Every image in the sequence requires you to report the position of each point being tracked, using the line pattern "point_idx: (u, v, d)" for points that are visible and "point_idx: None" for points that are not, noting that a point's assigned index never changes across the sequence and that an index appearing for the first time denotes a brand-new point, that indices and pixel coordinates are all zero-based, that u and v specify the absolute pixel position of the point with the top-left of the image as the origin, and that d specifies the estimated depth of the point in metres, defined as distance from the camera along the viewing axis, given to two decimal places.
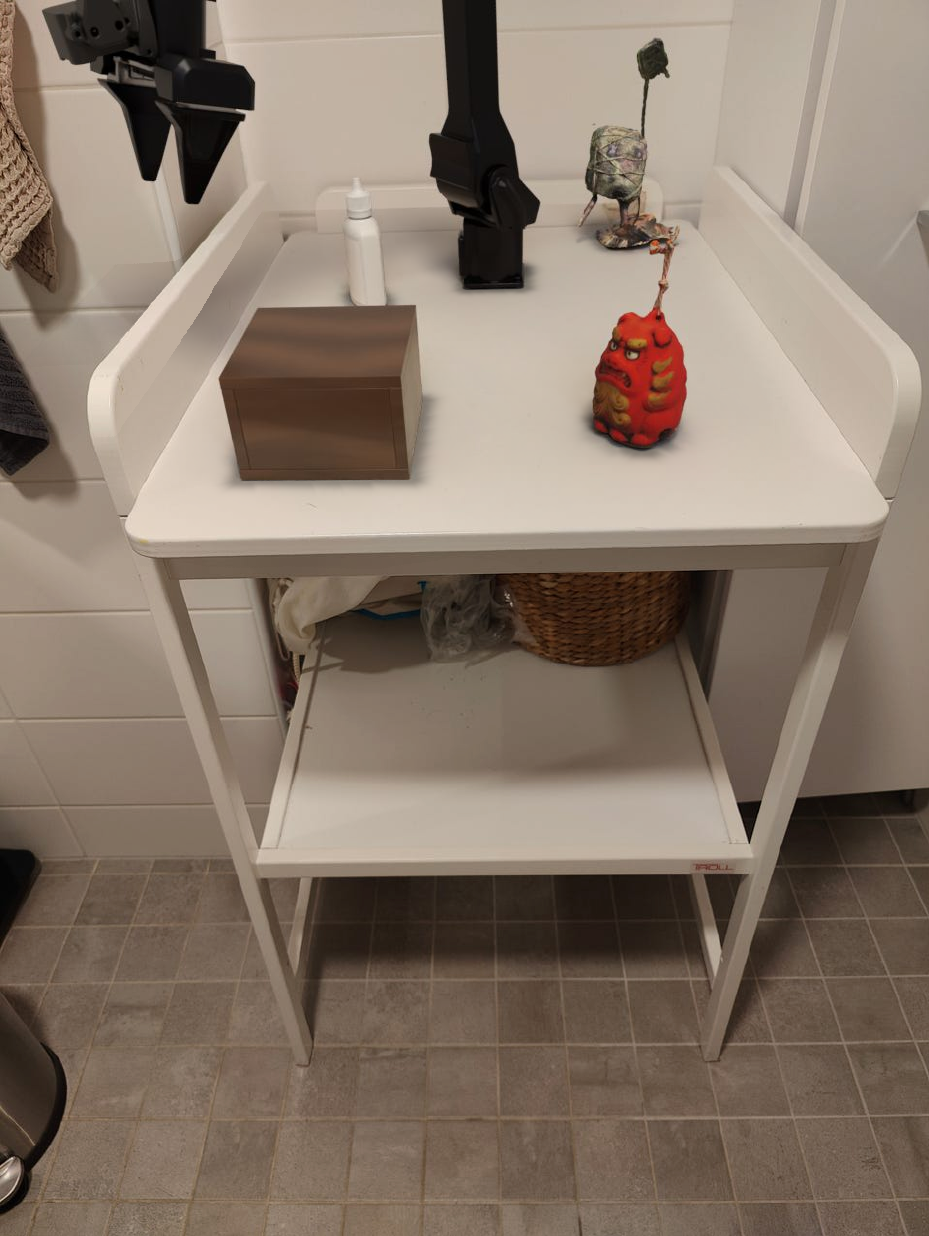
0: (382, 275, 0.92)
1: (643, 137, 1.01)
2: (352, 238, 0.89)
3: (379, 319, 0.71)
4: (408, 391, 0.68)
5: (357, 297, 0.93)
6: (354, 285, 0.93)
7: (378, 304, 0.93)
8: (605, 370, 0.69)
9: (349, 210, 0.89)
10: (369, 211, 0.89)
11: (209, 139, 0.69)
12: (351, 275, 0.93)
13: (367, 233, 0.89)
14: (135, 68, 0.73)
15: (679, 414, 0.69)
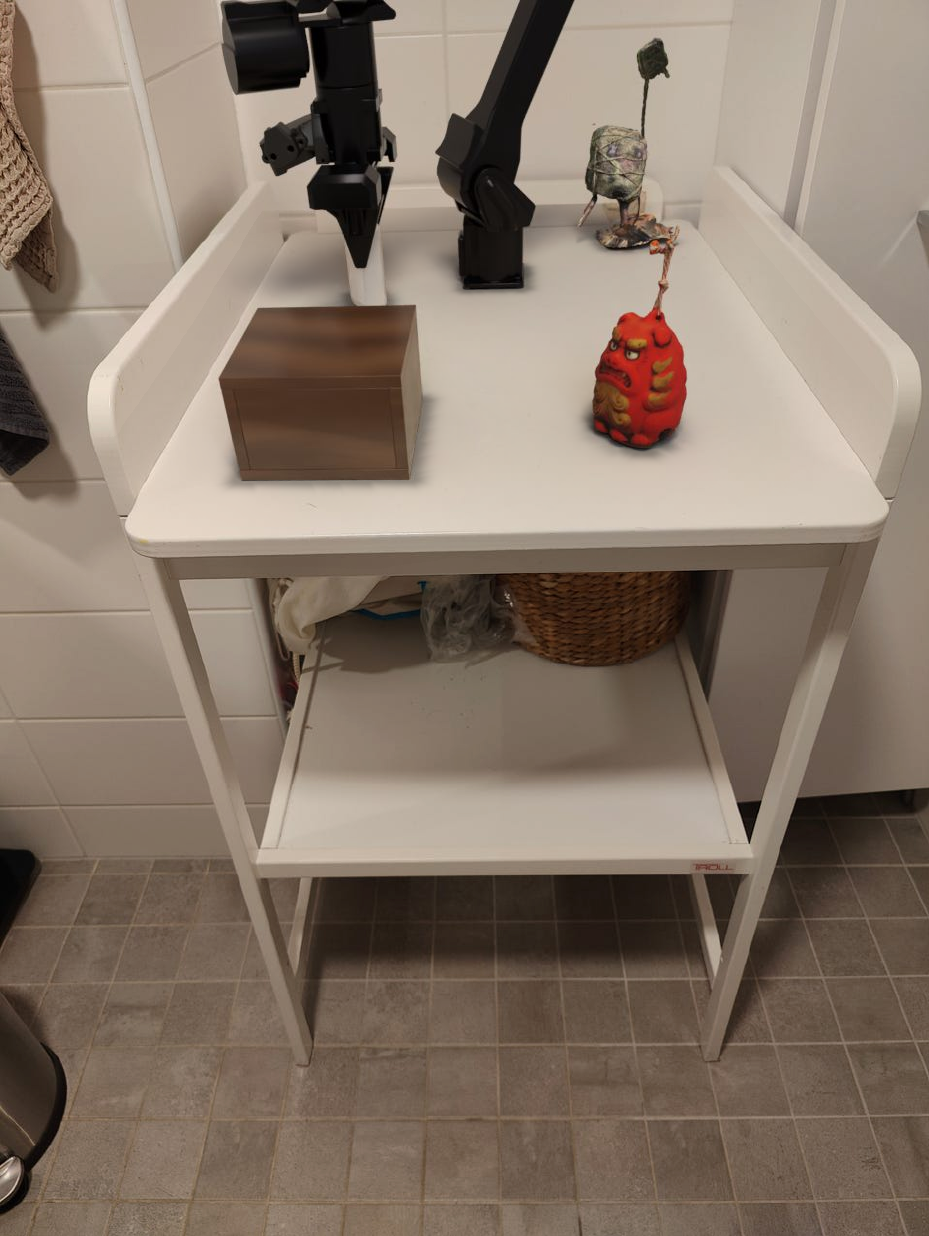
0: (382, 275, 0.92)
1: (643, 137, 1.01)
2: None
3: (379, 319, 0.71)
4: (408, 391, 0.68)
5: (357, 297, 0.93)
6: (354, 285, 0.93)
7: (378, 304, 0.93)
8: (605, 370, 0.69)
9: None
10: None
11: (362, 220, 0.86)
12: (351, 275, 0.93)
13: None
14: None
15: (679, 414, 0.69)
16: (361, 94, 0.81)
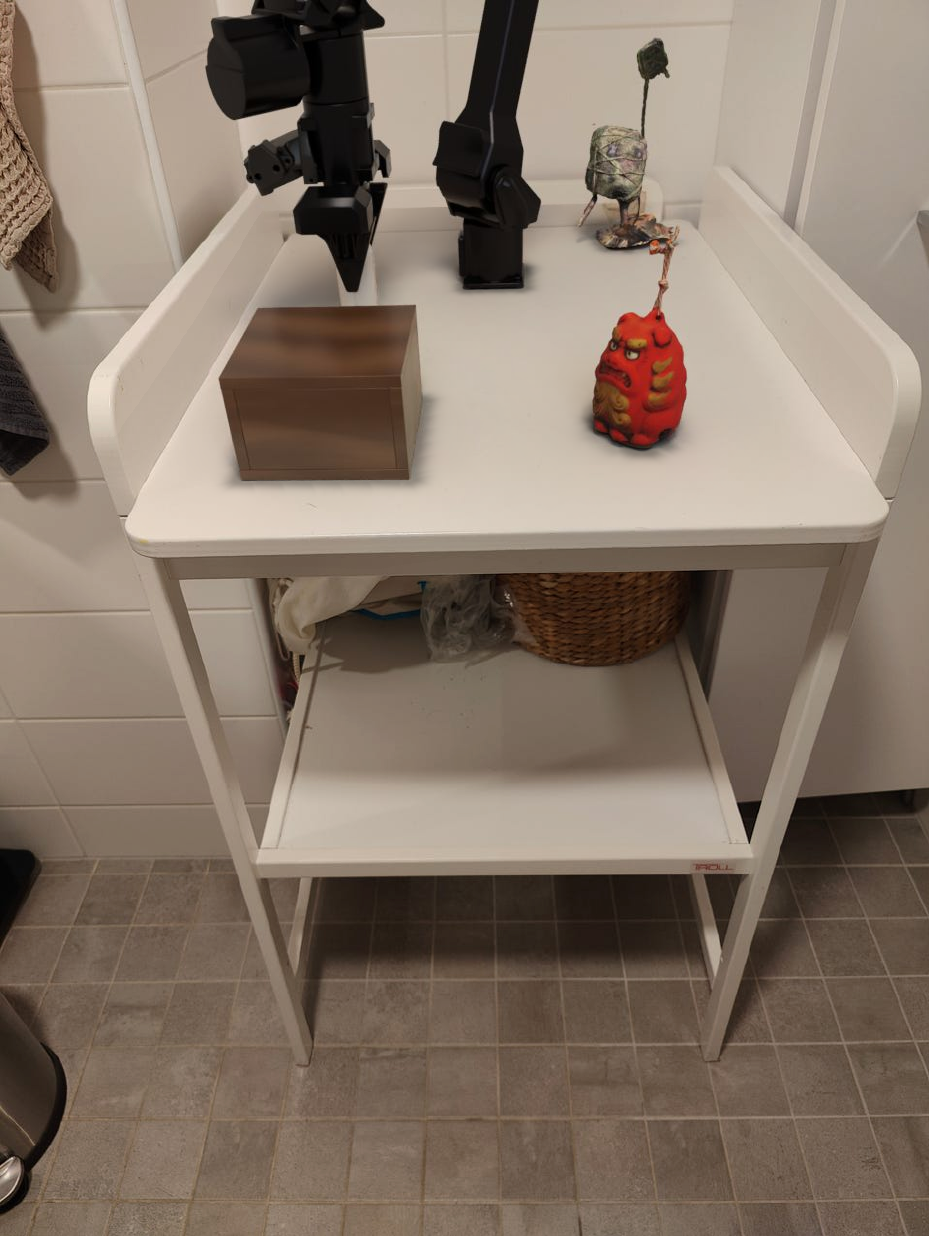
0: (375, 299, 0.87)
1: (643, 137, 1.01)
2: None
3: (379, 319, 0.71)
4: (408, 391, 0.68)
5: None
6: None
7: None
8: (605, 370, 0.69)
9: None
10: None
11: (353, 243, 0.81)
12: (342, 298, 0.88)
13: None
14: None
15: (679, 414, 0.69)
16: (351, 111, 0.76)
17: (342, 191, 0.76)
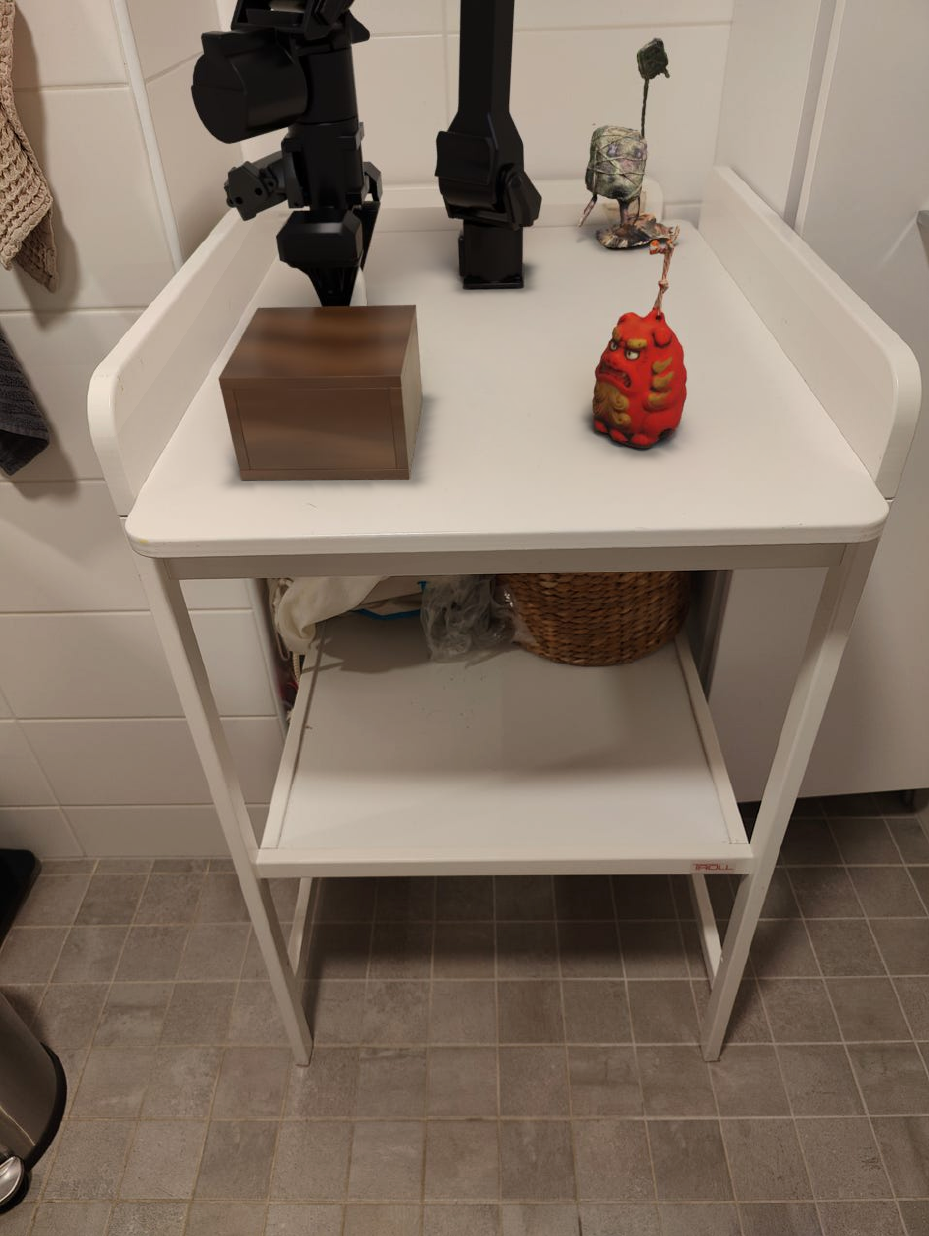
0: None
1: (643, 137, 1.01)
2: None
3: (379, 319, 0.71)
4: (408, 391, 0.68)
5: None
6: None
7: None
8: (605, 370, 0.69)
9: None
10: None
11: (339, 278, 0.75)
12: None
13: None
14: None
15: (679, 414, 0.69)
16: (339, 131, 0.71)
17: (329, 216, 0.70)
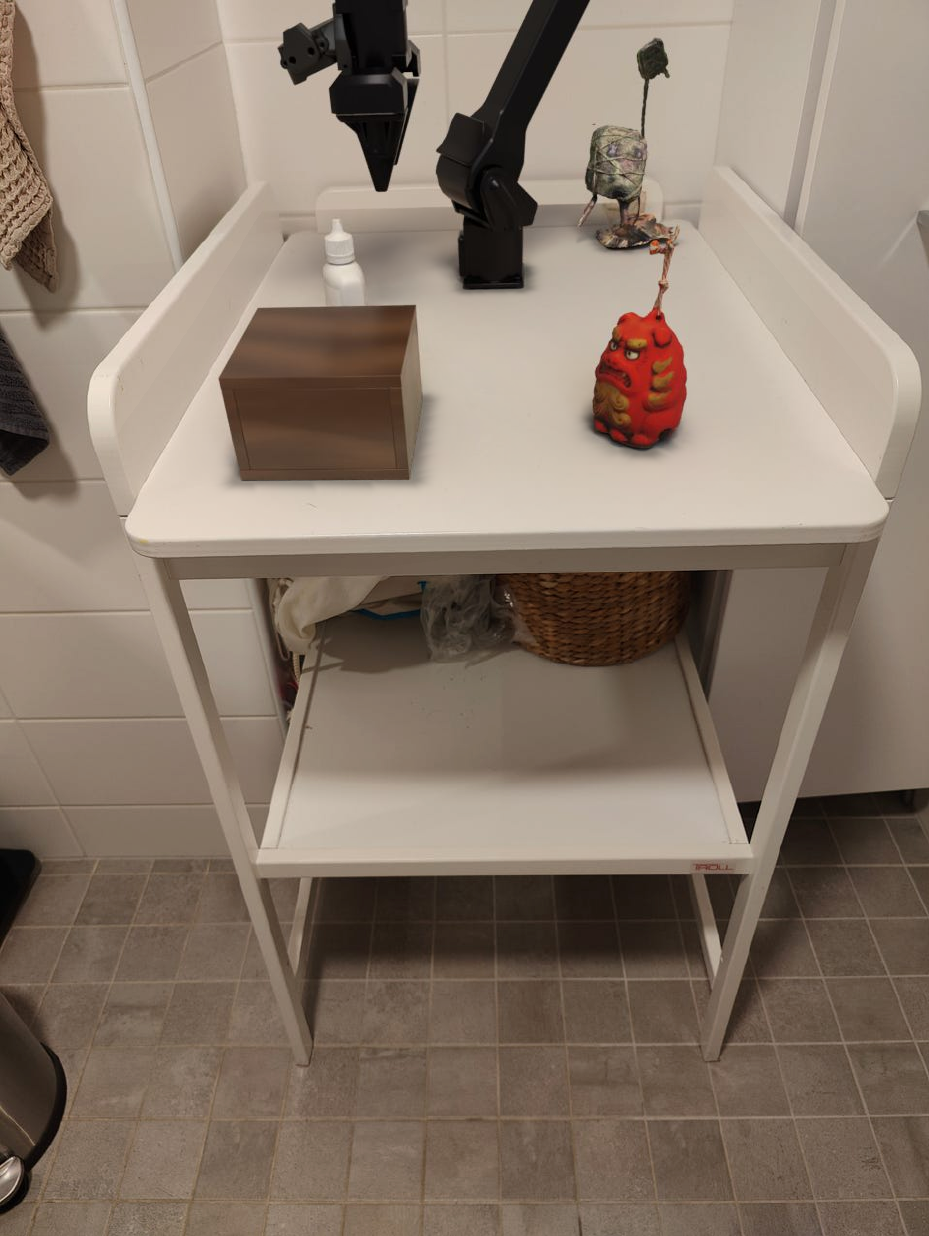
0: None
1: (643, 137, 1.01)
2: (332, 286, 0.80)
3: (379, 319, 0.71)
4: (408, 391, 0.68)
5: None
6: None
7: None
8: (605, 370, 0.69)
9: (328, 255, 0.79)
10: (350, 255, 0.79)
11: (384, 136, 0.80)
12: None
13: (348, 281, 0.79)
14: None
15: (679, 414, 0.69)
16: None
17: (378, 70, 0.76)
